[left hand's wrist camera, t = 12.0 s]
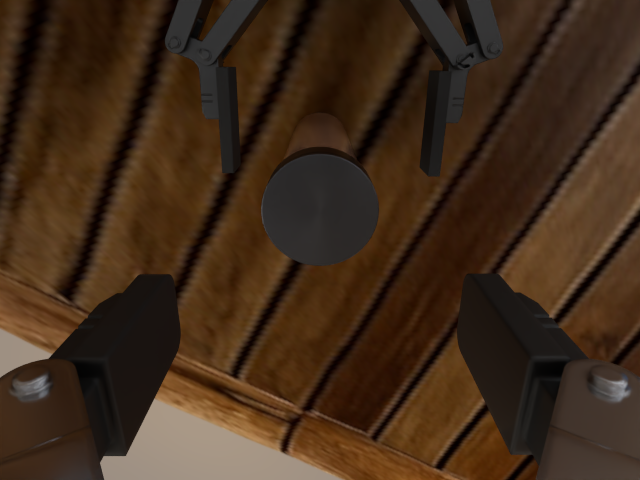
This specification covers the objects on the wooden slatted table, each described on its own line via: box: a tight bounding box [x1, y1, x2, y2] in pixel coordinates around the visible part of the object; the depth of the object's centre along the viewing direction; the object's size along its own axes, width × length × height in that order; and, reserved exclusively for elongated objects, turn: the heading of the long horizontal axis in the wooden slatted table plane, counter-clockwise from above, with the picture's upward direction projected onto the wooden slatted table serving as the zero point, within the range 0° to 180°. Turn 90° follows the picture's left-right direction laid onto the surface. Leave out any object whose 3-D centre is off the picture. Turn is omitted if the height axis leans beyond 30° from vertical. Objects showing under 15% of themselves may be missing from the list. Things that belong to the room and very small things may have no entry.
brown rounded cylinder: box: [283, 113, 357, 160], centre depth 28 cm, size 4×4×18 cm
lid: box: [261, 147, 379, 266], centre depth 19 cm, size 5×5×2 cm
